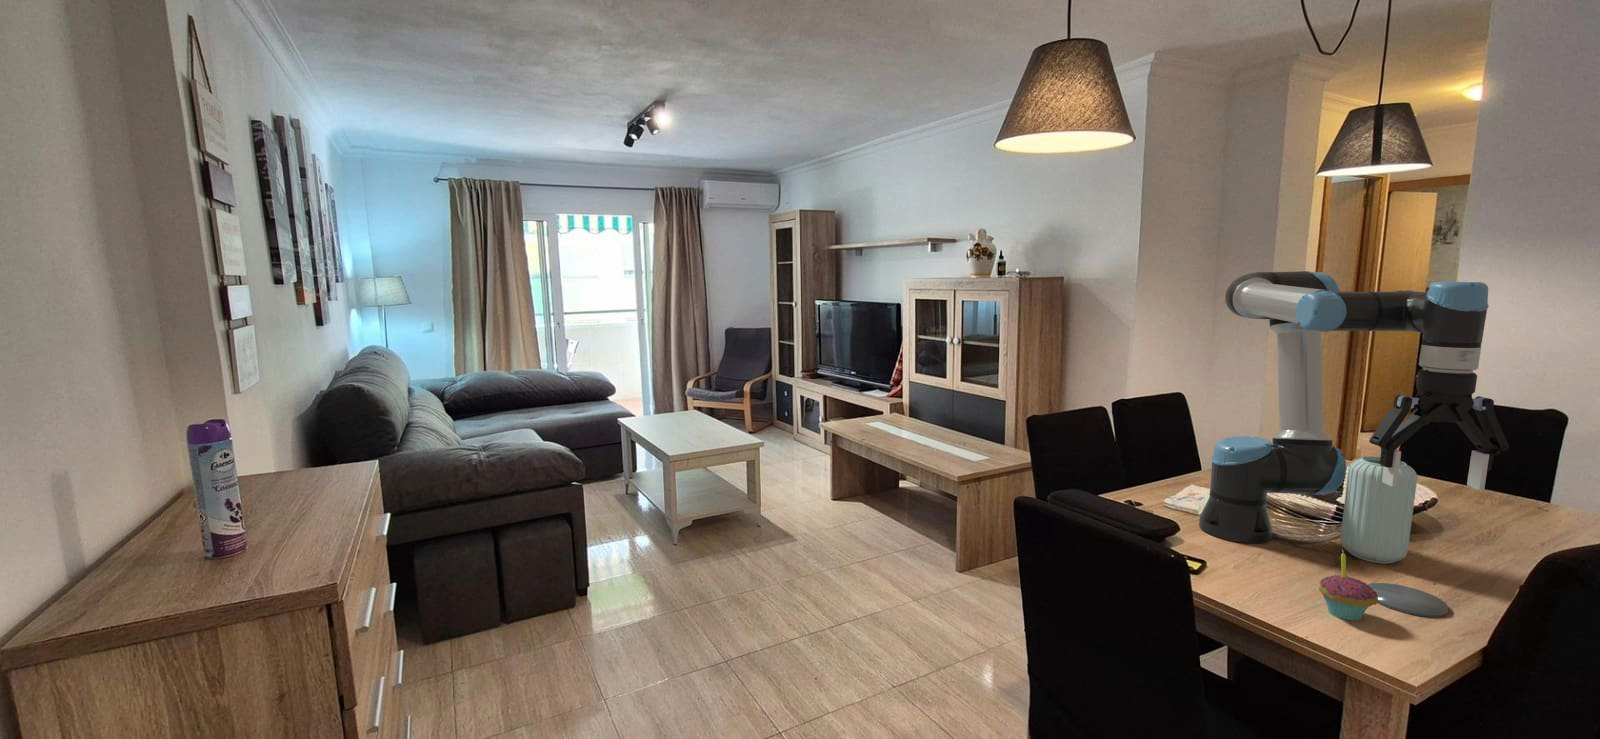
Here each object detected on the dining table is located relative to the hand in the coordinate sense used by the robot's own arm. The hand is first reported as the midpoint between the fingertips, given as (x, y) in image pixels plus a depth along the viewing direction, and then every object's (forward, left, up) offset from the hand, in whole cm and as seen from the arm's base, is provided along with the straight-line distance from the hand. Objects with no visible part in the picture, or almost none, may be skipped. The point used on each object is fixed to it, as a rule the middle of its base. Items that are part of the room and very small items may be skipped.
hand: (1431, 486), depth 120 cm
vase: (-1, +30, -26) cm, 40 cm away
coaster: (0, +7, -25) cm, 26 cm away
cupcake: (-11, -5, -26) cm, 28 cm away
